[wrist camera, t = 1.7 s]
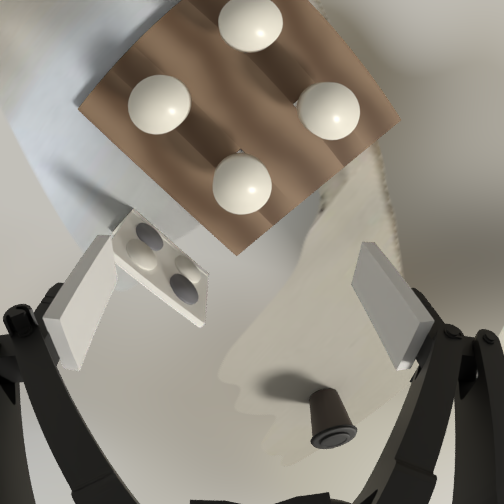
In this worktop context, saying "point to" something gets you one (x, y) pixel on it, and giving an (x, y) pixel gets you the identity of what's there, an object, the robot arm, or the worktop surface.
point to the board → (239, 111)
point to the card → (161, 267)
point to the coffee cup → (329, 420)
